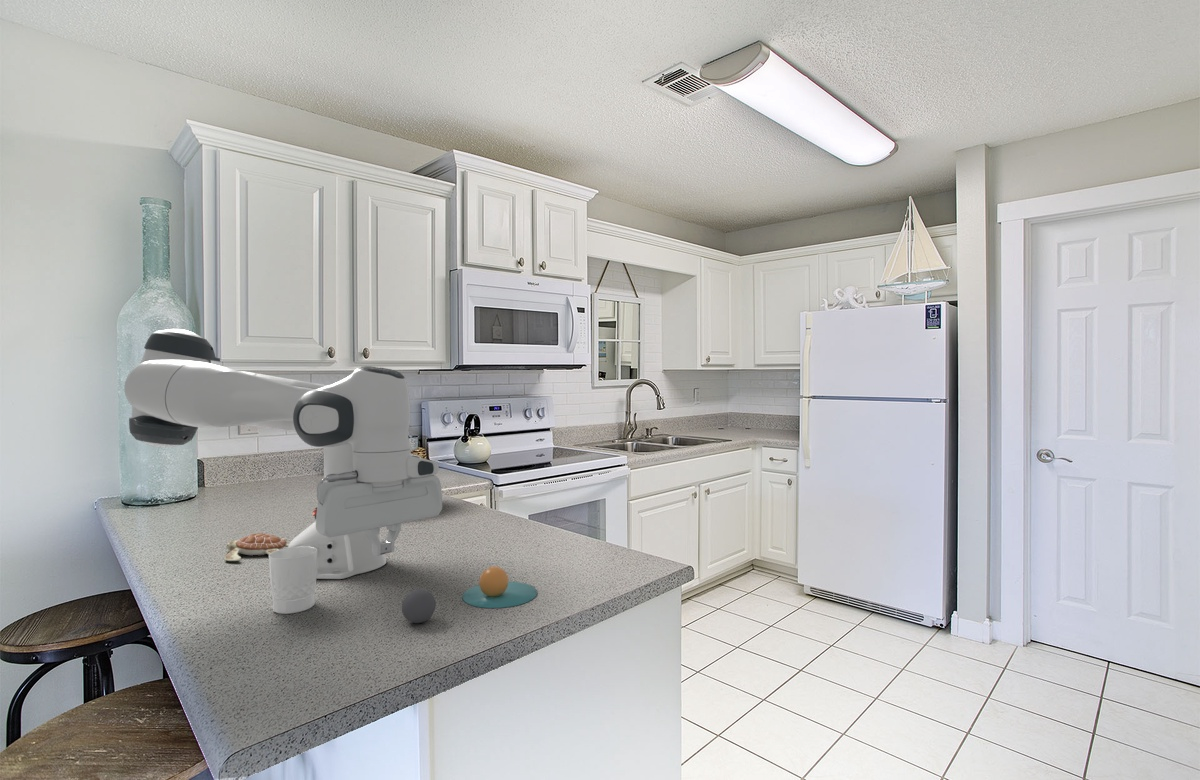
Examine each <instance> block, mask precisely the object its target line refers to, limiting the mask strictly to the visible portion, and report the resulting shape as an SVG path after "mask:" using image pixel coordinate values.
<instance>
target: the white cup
mask: <svg viewBox="0 0 1200 780" xmlns="http://www.w3.org/2000/svg"><path fill="white" fill-rule="evenodd" d="M317 552H318V549H317V548H315V547H308V546H300V547H290V548H288V547H284V548H283V549H280V550H277V551H274V552H272V553H270V554H268V564H269V566H268V567H269V581H270V584H269V585H270V590H271V591H270V592H271V593H270V594H271V597H272V610H273V612H274V613H277V614H285V615H288V614H296V613H300V612H304V611H307V610H309V609H311V608H312V607H313V606H315V605H316V604H315V603H316V588H317V579H316V576H317Z"/></svg>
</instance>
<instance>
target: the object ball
mask: <svg viewBox="0 0 1200 780" xmlns="http://www.w3.org/2000/svg"><path fill="white" fill-rule="evenodd" d="M509 581H510V580H509V576H508V573H507V571H505V569H503V568H502V567H499V566H489V567H487V568H486V569H484V570H483V571H482V573H481V574H480V575H479V580H478V585H479V586H480V589H481V591H482V592H483V593H484V594H485V595H487V596H489V597H497V596H500V595H501V594H503V593H504V592H505V590H506V589H507V587H508V583H509Z"/></svg>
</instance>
